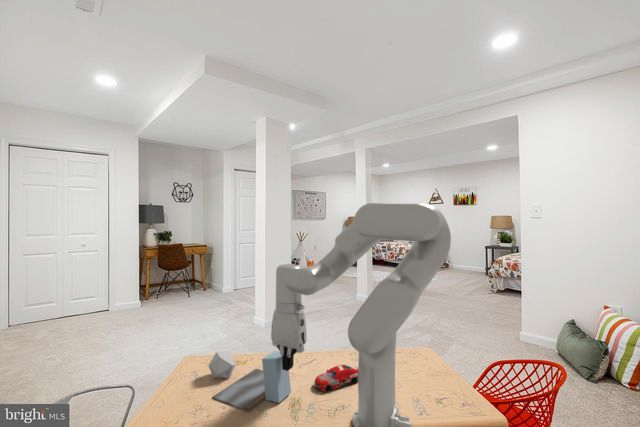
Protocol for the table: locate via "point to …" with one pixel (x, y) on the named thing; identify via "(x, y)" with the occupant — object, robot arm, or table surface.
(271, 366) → the tall block
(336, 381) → the race car
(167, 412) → the table surface
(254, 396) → the mat
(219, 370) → the die
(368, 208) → the robot arm
